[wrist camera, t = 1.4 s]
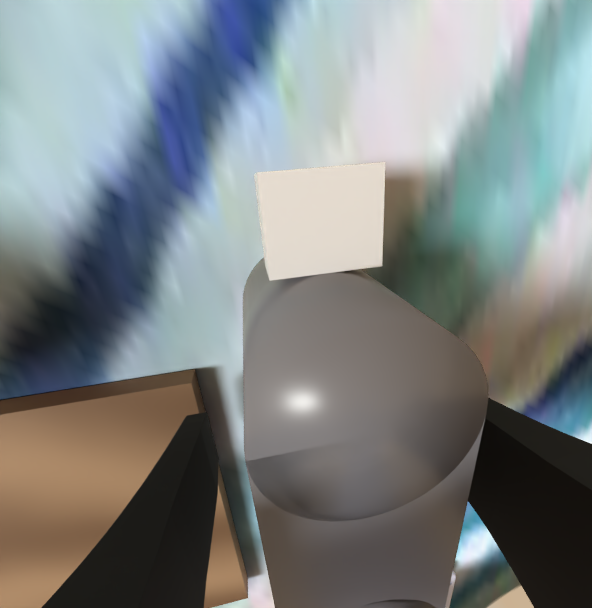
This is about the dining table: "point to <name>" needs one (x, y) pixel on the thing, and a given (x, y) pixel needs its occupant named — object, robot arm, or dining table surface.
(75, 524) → the walnut board
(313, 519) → the grey rounded piece
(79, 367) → the dining table surface
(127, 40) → the dining table surface
